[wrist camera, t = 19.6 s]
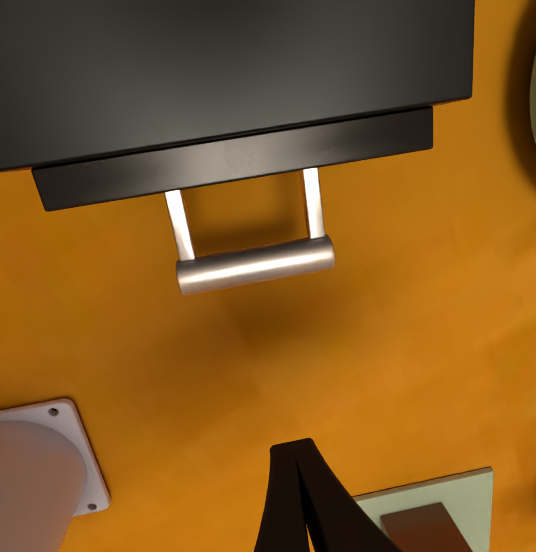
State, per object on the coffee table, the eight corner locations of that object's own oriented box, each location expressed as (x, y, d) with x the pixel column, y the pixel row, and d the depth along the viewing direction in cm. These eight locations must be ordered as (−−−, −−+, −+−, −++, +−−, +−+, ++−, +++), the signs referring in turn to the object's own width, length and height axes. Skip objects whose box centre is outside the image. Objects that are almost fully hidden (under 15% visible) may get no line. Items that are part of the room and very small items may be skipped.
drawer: (363, 236, 19) (434, 279, 13) (135, 276, 18) (89, 343, 12) (330, -253, 13) (431, -632, 7) (-4, -222, 13) (-240, -609, 6)
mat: (336, 599, 29) (337, 605, 29) (323, 503, 26) (324, 508, 25) (484, 564, 30) (487, 569, 29) (490, 466, 26) (494, 471, 26)
